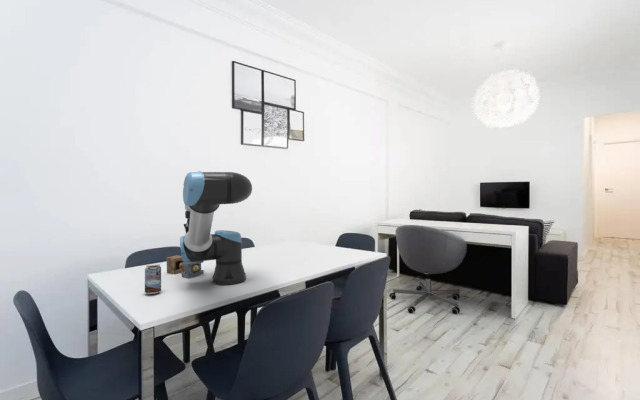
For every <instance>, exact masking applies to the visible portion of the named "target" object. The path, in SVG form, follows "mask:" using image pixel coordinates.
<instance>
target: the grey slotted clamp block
mask: <svg viewBox="0 0 640 400" xmlns="http://www.w3.org/2000/svg"><path fill="white" fill-rule="evenodd" d="M203 263H204V261H199V262H192V263H191V262H187V263H186V262H184V263H181V265H184V272H182V273H181V278H184V279H188V280H189V279H192V278H195V277H200V276H202V275H204V274H205V273H204V272H205V271H204V270H202V264H203ZM192 265H198V266H199V270H198V271H197V272H196V271H193V268H192Z"/></svg>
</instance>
